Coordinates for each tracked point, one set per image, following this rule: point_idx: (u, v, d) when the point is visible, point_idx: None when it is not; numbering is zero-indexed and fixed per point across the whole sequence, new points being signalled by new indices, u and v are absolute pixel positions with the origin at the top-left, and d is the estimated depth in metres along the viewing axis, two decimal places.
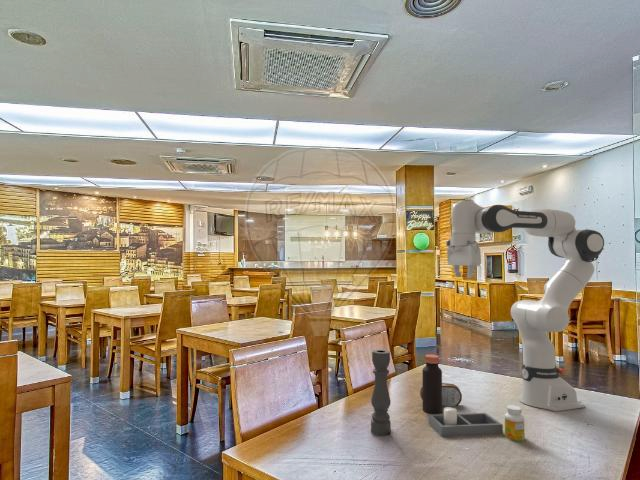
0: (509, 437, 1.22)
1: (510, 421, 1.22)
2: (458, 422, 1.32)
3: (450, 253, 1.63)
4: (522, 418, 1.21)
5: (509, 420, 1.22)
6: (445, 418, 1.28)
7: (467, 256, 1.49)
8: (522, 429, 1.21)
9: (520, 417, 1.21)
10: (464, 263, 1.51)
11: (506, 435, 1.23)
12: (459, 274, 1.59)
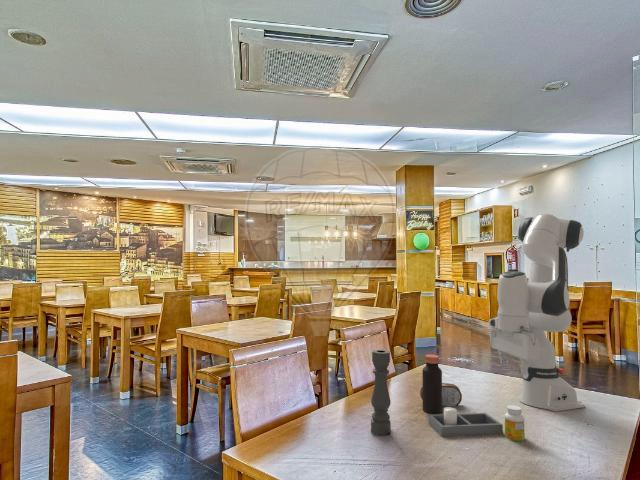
0: (509, 437, 1.22)
1: (510, 421, 1.22)
2: (458, 422, 1.32)
3: (494, 334, 1.32)
4: (522, 418, 1.21)
5: (509, 420, 1.22)
6: (445, 418, 1.28)
7: (521, 347, 1.18)
8: (522, 429, 1.21)
9: (520, 417, 1.21)
10: (516, 355, 1.20)
11: (506, 435, 1.23)
12: (506, 362, 1.28)
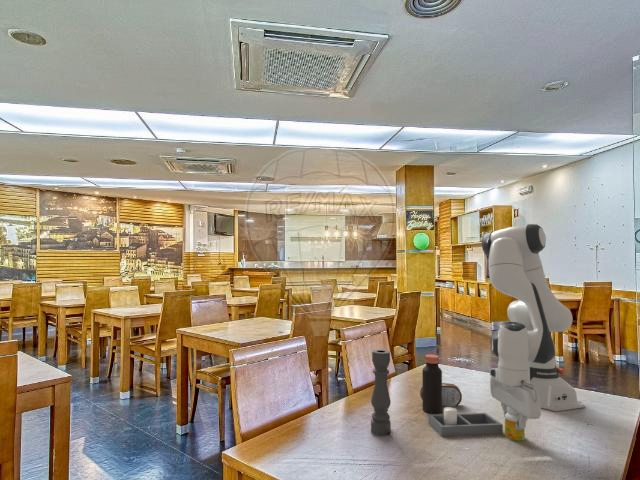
0: (509, 437, 1.22)
1: (510, 420, 1.22)
2: (458, 422, 1.32)
3: (494, 383, 1.31)
4: None
5: (509, 420, 1.22)
6: (445, 418, 1.28)
7: (522, 403, 1.17)
8: (522, 429, 1.21)
9: None
10: (517, 409, 1.19)
11: (506, 435, 1.23)
12: None
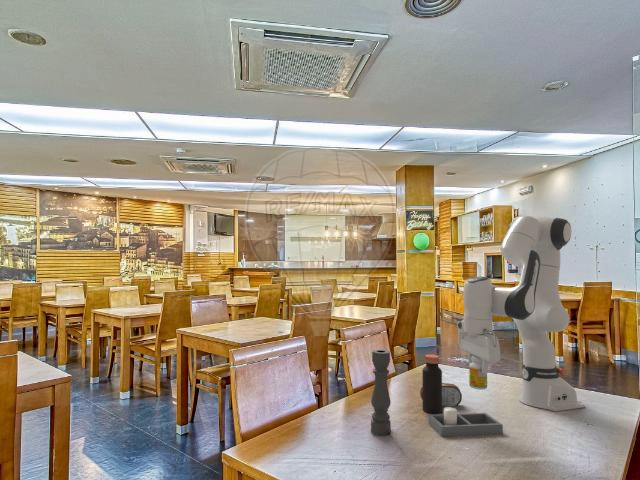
0: (472, 384, 1.29)
1: (473, 368, 1.29)
2: (458, 422, 1.32)
3: (461, 336, 1.39)
4: None
5: (473, 368, 1.29)
6: (445, 418, 1.28)
7: (483, 349, 1.25)
8: (485, 376, 1.29)
9: None
10: (479, 356, 1.27)
11: (470, 382, 1.30)
12: None
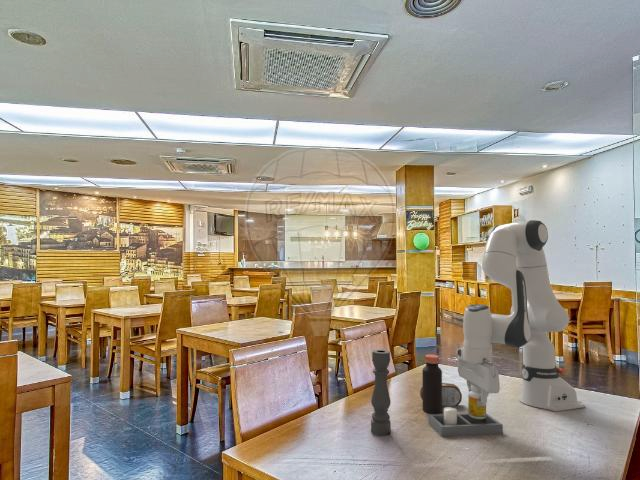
0: (471, 413, 1.29)
1: (472, 397, 1.29)
2: (458, 422, 1.32)
3: (461, 363, 1.38)
4: None
5: (472, 397, 1.29)
6: (445, 418, 1.28)
7: (482, 379, 1.24)
8: (484, 405, 1.28)
9: None
10: (479, 385, 1.26)
11: (469, 411, 1.30)
12: None
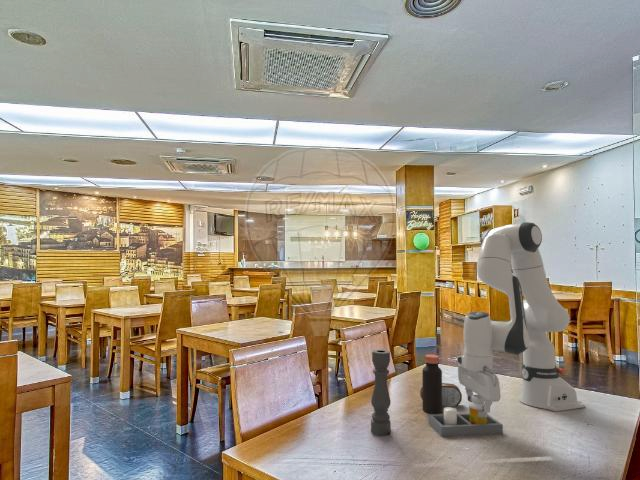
0: None
1: (473, 409, 1.29)
2: (458, 422, 1.32)
3: (461, 370, 1.38)
4: None
5: (472, 408, 1.29)
6: (445, 418, 1.28)
7: (483, 387, 1.24)
8: (485, 417, 1.28)
9: None
10: (479, 393, 1.26)
11: None
12: None
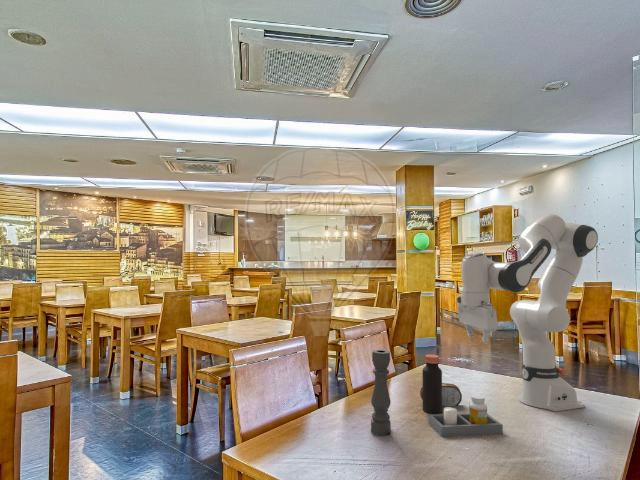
0: None
1: (473, 409, 1.29)
2: (458, 422, 1.32)
3: (461, 310, 1.49)
4: (485, 406, 1.28)
5: (472, 408, 1.29)
6: (445, 418, 1.28)
7: (482, 319, 1.35)
8: (485, 417, 1.28)
9: (483, 406, 1.28)
10: (478, 326, 1.37)
11: None
12: (472, 334, 1.45)
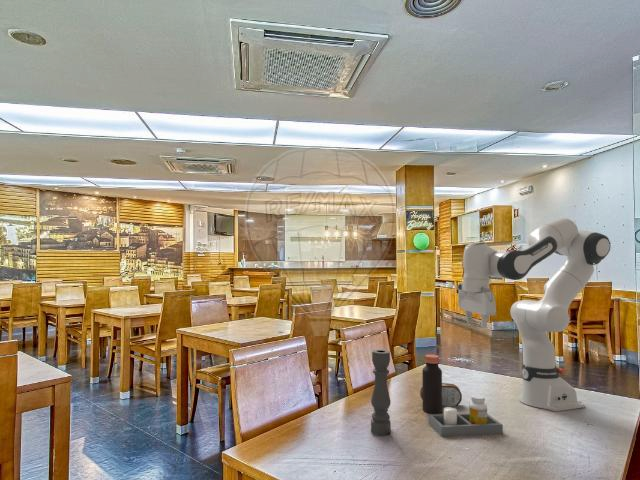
0: None
1: (473, 409, 1.29)
2: (458, 422, 1.32)
3: (461, 297, 1.54)
4: (485, 406, 1.28)
5: (472, 408, 1.29)
6: (445, 418, 1.28)
7: (481, 304, 1.40)
8: (485, 417, 1.28)
9: (483, 406, 1.28)
10: (477, 311, 1.42)
11: None
12: (471, 320, 1.51)
